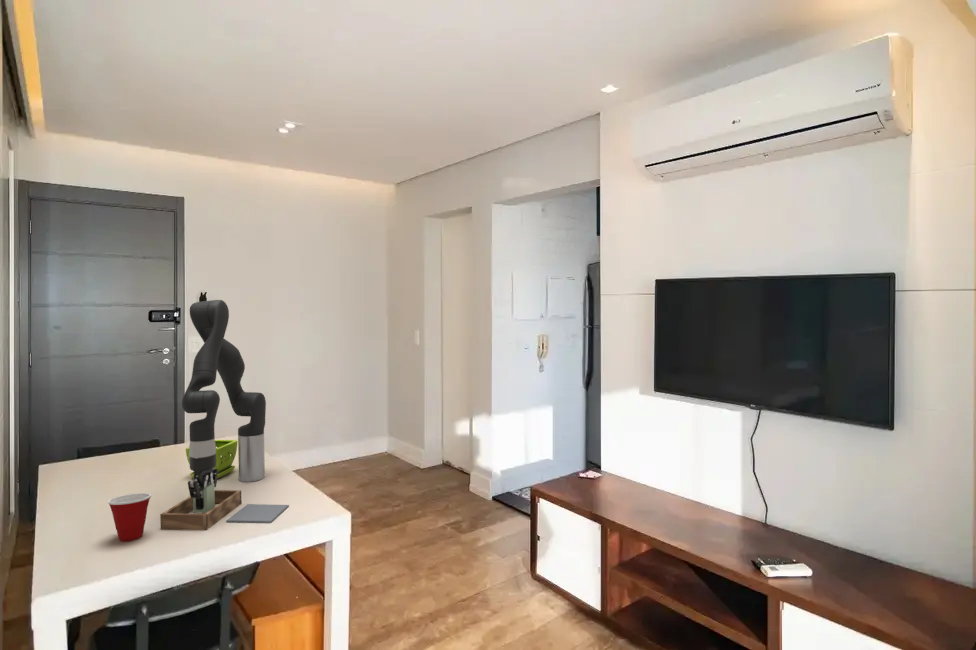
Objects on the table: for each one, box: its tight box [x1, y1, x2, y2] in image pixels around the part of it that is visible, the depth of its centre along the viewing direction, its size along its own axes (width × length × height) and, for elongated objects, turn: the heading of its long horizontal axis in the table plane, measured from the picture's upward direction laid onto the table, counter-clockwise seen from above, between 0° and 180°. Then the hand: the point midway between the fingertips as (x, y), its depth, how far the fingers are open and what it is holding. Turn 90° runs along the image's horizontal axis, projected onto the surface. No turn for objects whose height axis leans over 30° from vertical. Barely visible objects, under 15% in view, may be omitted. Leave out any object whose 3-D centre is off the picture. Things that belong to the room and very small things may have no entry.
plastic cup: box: [106, 492, 152, 542], centre depth 164 cm, size 11×11×12 cm
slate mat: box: [225, 503, 290, 524], centre depth 182 cm, size 14×14×1 cm
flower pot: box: [185, 439, 238, 480], centre depth 222 cm, size 14×14×13 cm
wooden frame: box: [159, 489, 242, 531], centre depth 180 cm, size 22×14×4 cm, turn 178°
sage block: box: [192, 483, 216, 514], centre depth 180 cm, size 4×4×8 cm
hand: (204, 505), depth 180 cm, fingers closed on sage block, 4 cm apart
